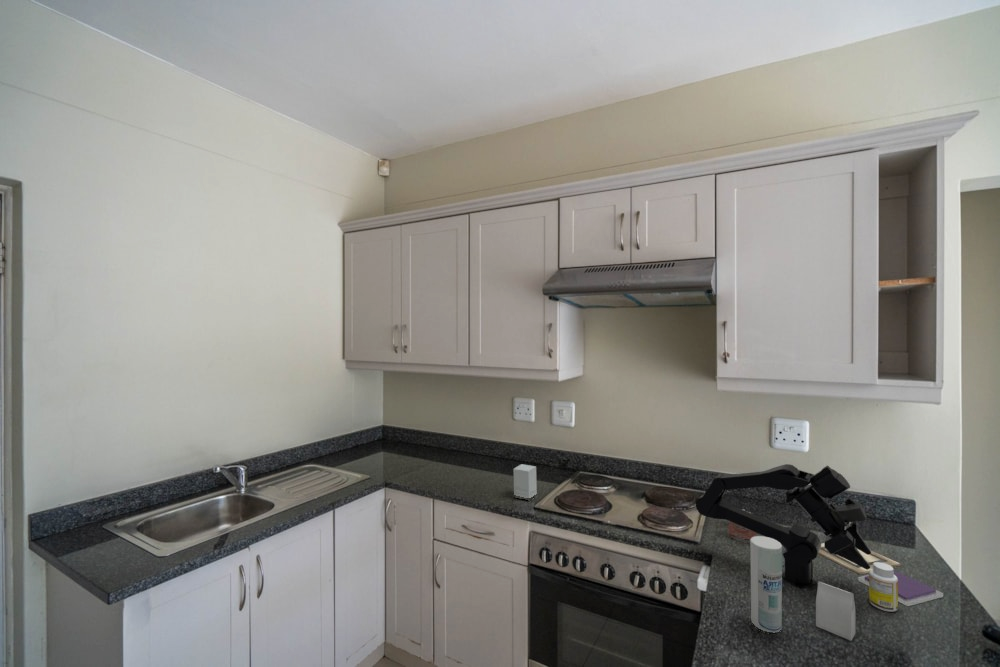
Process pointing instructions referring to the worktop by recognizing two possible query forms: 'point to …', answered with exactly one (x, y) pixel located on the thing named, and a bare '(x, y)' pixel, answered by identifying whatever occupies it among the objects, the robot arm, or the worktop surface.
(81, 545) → the worktop surface
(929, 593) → the ink pad
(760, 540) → the spray can
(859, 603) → the worktop surface
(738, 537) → the lighter
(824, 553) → the board
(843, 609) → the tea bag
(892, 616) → the worktop surface
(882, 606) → the supplement bottle
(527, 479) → the supplement box
